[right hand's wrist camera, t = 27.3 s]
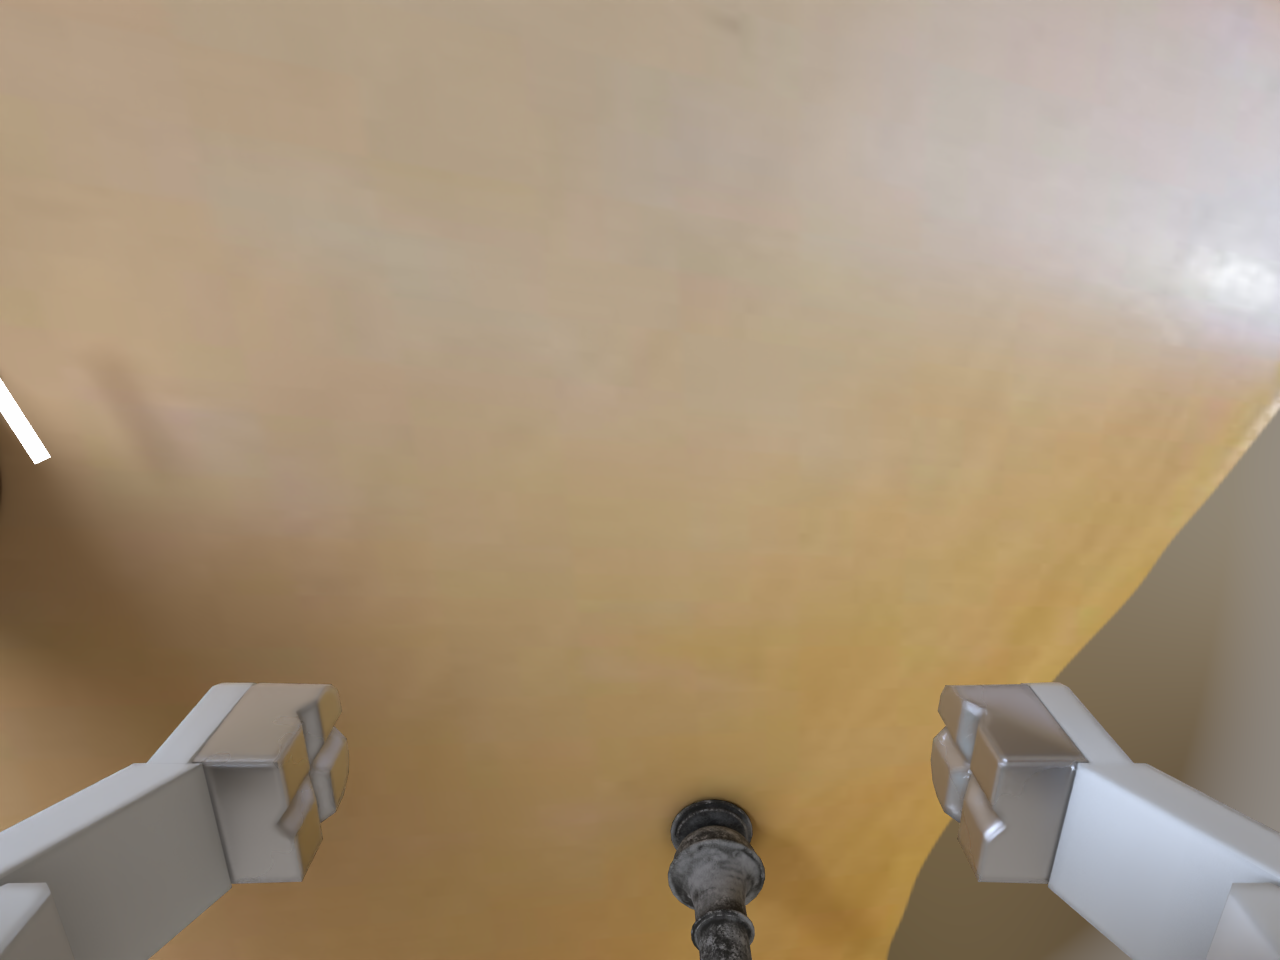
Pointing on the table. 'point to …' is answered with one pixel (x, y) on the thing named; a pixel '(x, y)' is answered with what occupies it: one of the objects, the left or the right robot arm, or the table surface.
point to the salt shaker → (716, 876)
